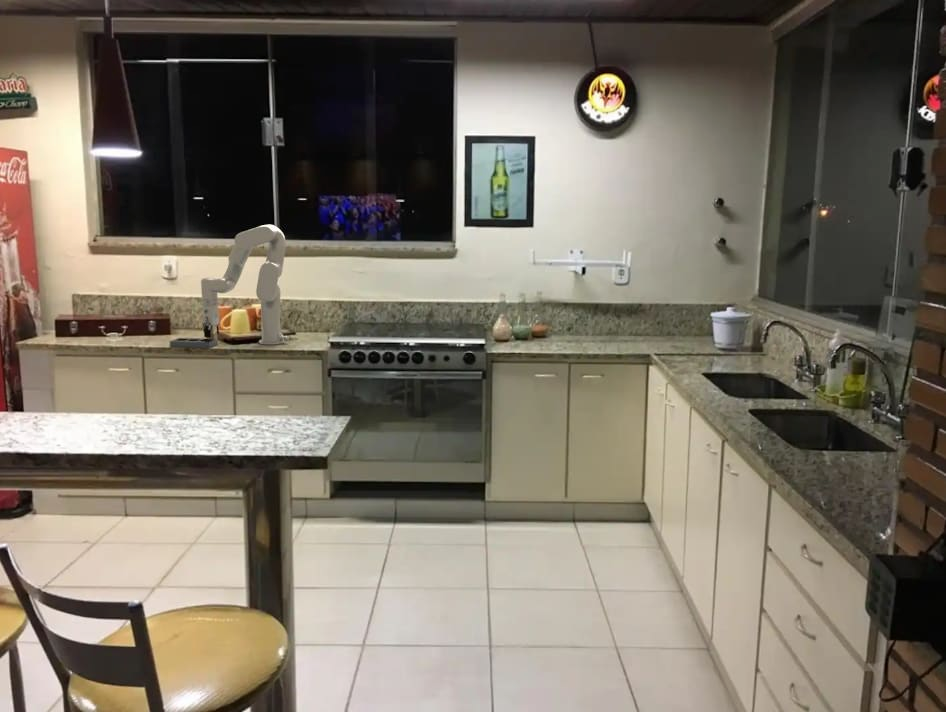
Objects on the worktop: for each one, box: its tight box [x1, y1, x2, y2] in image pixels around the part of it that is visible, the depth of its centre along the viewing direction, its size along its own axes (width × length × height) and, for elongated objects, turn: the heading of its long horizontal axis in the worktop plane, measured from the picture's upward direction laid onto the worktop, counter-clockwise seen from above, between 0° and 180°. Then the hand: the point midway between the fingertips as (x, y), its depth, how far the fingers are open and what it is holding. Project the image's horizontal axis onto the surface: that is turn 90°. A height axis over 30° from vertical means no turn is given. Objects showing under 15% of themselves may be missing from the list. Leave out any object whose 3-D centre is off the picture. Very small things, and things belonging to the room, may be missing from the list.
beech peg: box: [205, 324, 218, 340], centre depth 394 cm, size 4×4×10 cm
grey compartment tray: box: [169, 337, 219, 349], centre depth 383 cm, size 20×10×3 cm, turn 85°
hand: (211, 335), depth 394 cm, fingers open, 9 cm apart
